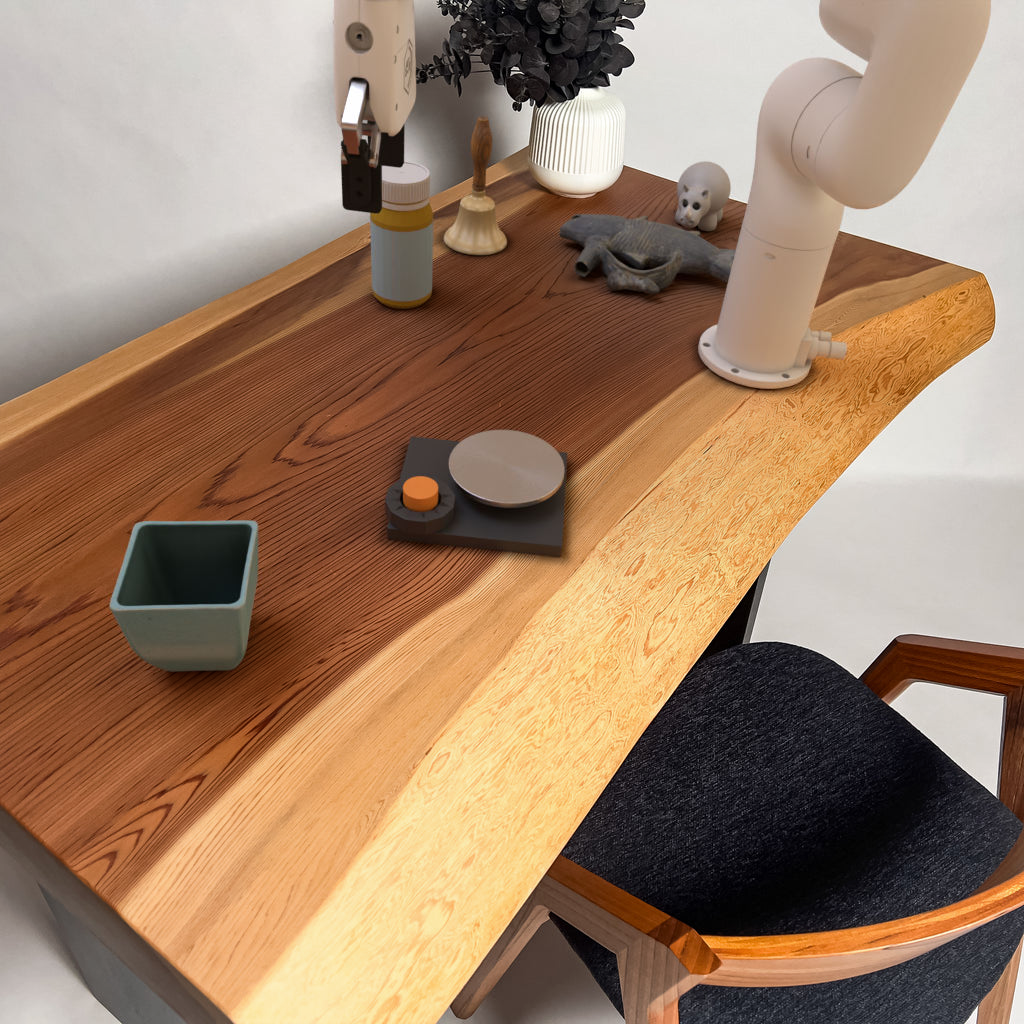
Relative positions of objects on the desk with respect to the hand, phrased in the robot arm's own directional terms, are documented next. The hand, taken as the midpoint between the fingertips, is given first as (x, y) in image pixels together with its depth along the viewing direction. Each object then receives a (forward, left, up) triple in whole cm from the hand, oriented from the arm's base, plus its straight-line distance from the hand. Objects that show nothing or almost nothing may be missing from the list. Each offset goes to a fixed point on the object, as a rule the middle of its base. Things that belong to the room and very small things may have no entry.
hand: (374, 186), depth 83 cm
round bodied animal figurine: (-35, -47, -23) cm, 63 cm away
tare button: (-7, +18, -20) cm, 27 cm away
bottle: (+1, -21, -23) cm, 31 cm away
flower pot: (+7, +34, -23) cm, 41 cm away
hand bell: (-6, -37, -23) cm, 44 cm away
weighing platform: (-14, +13, -20) cm, 27 cm away
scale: (-12, +14, -23) cm, 29 cm away
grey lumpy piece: (-28, -33, -23) cm, 49 cm away
